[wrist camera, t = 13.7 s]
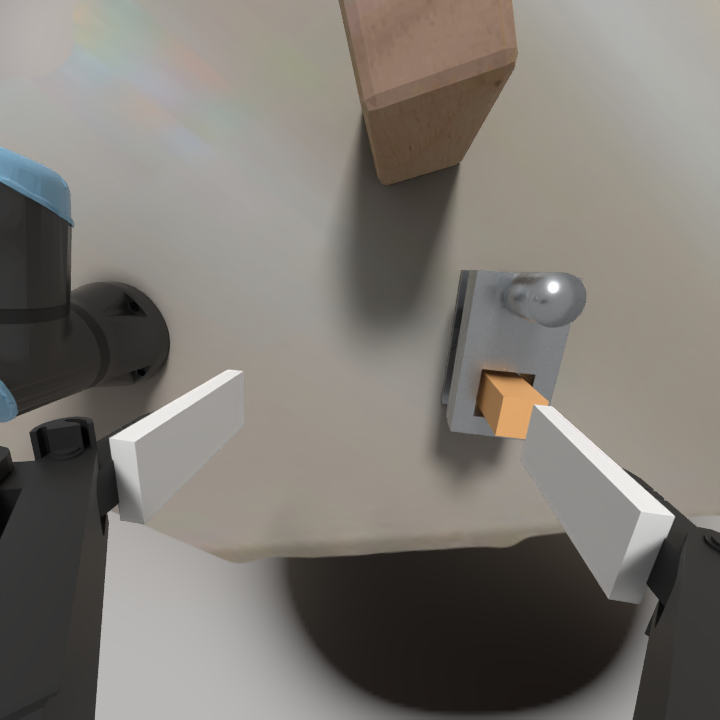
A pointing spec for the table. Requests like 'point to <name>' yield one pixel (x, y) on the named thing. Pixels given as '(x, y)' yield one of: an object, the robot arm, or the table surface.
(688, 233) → the table surface
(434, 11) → the wooden block
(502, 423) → the orange square bar
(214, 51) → the table surface
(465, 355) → the grey slotted stand
